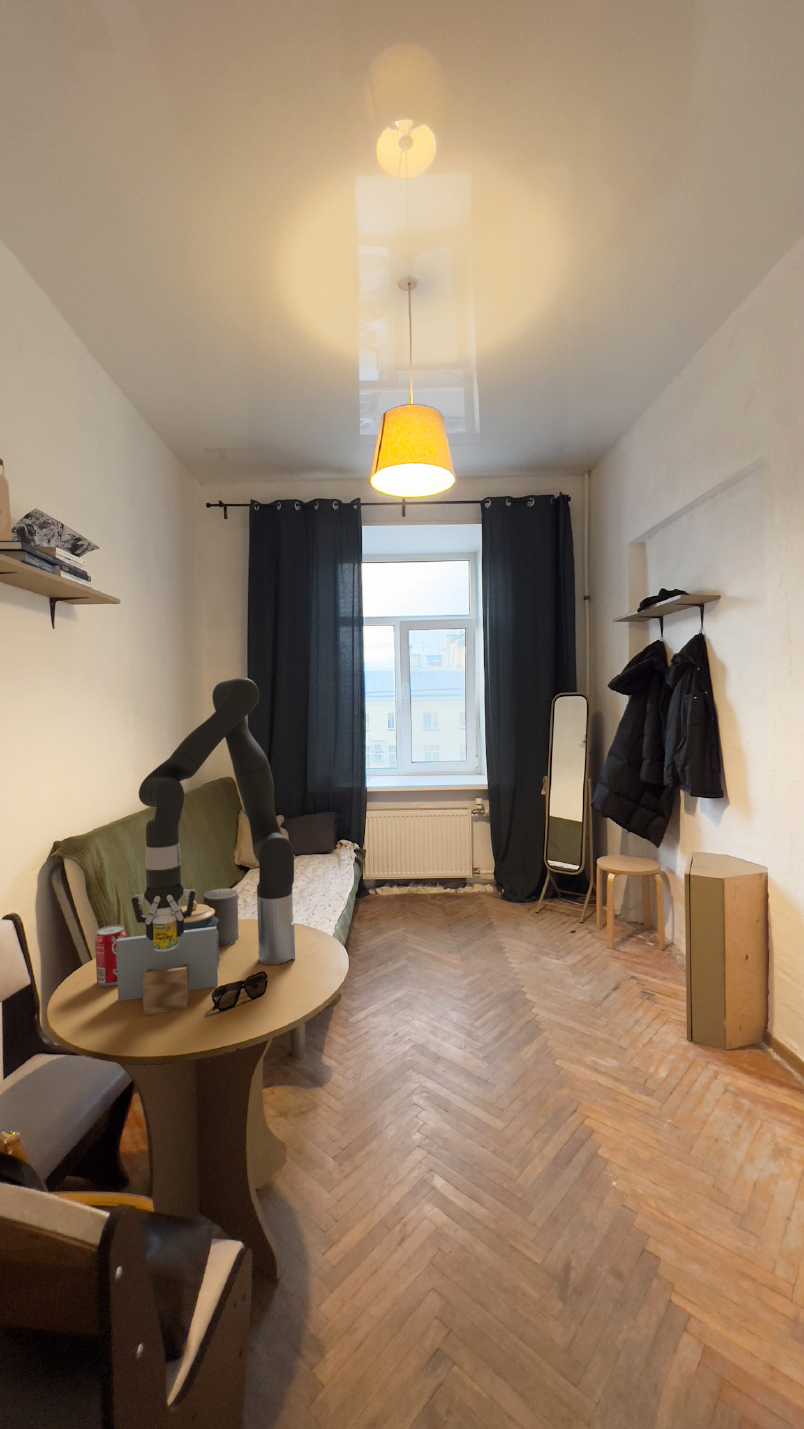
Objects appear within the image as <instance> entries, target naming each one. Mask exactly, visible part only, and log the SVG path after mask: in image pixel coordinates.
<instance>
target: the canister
mask: <svg viewBox="0 0 804 1429" xmlns="http://www.w3.org/2000/svg"><path fill="white" fill-rule="evenodd" d="M187 906H188V902H187V903H186V905H183V906H181V909H182V911H183V912H184V911H186V910H187ZM173 913H174V912H173ZM214 913H215V910H214V909H213V908H210V907H209V906H207V905H204V904H202V903H197V901H196V900H194V904H193V909H192V915H191V916H190V917H187V918H185V919H184V930H192V929H200V928H208V927H216V941H217V968H218V967H219V966H220V959H221V958H220V956H221V954H220V947H219V941H218V935H219V931H218V930H217V923H218V921H219V919H218V918H217V917H216V916H214ZM177 919H178V918H177Z"/></svg>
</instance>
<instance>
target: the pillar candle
mask: <svg viewBox="0 0 804 1429" xmlns="http://www.w3.org/2000/svg"><path fill="white" fill-rule="evenodd" d="M238 894H239V891H237V890H236V889H232V888H216V889H212V890H209V891H206V892H205V893H203V896H202V897H203V899H202V901H203V904H204V905H207V906H209V907H210V908H213V909H214V910H215V913H214V916H216V917H217V918H218V919H219V921H218V923H217V930H218V931H219V935H218V941H219V948H220V947H226V945H227V946H230V945H232V944H231V943H233V942H235V941H236V940H237V941H239V895H238ZM237 941H236V942H237ZM236 942H235V943H236ZM229 944H230V945H229ZM233 944H234V943H233Z"/></svg>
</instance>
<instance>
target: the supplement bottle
mask: <svg viewBox="0 0 804 1429" xmlns="http://www.w3.org/2000/svg"><path fill="white" fill-rule="evenodd" d="M173 912H174V911H173V909H172V907H166V908H157V909H156V911H155V913H154V914H155V915H154V916H153V918H152V922H153V948H154V950H155V951H158V952H166V951H170V950H173V949H175V948H176V947H177V946H178V934H177V920H178V919H177V916H176V914H175V913H173ZM156 914H157V915H156Z"/></svg>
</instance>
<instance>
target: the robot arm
mask: <svg viewBox="0 0 804 1429" xmlns="http://www.w3.org/2000/svg"><path fill="white" fill-rule="evenodd" d="M211 696H212V697H211V698H212V703H213V707H214V711H215V712H214V713H212V715H211V716H210V717H208V718H207V719H206V720H205V721H203V723H201V724H200V725H199V726H197V727H196V728H195V729H194V730H192V731H191V733H189V734H188V735H187V736H186V737H185V738H184V739H183V740H182V741H181V743H180V744H179V745H178V746H177V747H176V749H175V750H174V751H173V752H172V753H171V755H170V756H169V758H168V759H166V760H165V761H164V762H162V763H161V764H160V765H158V766H157V767H156V768H154V770H152V771H151V772H150V773H149V774H148V775H147V776H146V777H145V778H144V779H143V781H142V782H141V783H140V786H139V789H138V798H139V800H140V802H141V804H143V805H144V806H146V807H150V808H155V812H154V813H155V814H154V818H152V819H150V820H149V821H147V823H146V826H145V840H146V841H145V844H146V846H145V857H144V858H145V862H144V865H145V890H144V893H141V894H138V893H135V894H134V895H133V896H132V897H131V904H132V907H133V912H134V916H135V920H136V922H137V923H138V924H139V923H142V924H145V935H146V937H147V938H149V940H153V922H152V921H153V918H154V916H155V914H156V913H155V911H156V909H157V908H166V907H172V909H173V911H174V913H175V914H176V916H177V918H178V920H177V934H178V937H181V934H183V933H184V919H185V918H187V917H190V916H191V915H192V909H193V904H194V901H195V897H196V892H197V891H196V888H194V887H193V888H190V889H186V888H184V887H183V885H182V862H181V861H182V860H181V859H182V858H181V857H182V856H181V854H182V853H181V847H180V830H179V824H180V820H181V816H182V812H183V809H184V802H185V790H184V787H183V785H182V782H181V781H184V780H188V779H192V778H193V777H194V775H195V774H196V773H198V771H199V769H200V768H201V767H202V766H203V764H204V763H205V762H206V760H207V759H208V758H209V756H210V755H211V754H212V752H214V750H215V749H216V748H217V746H218V745H219V744H220V743H221V742H222V741H223V740H224V738H225V742H226V745H227V749H228V753H229V758H230V760H231V764H232V768H233V769H232V770H233V772H234V777H235V780H236V781H235V782H236V785H237V788H238V792H239V795H240V798H241V802H242V805H243V807H244V810H245V813H246V815H247V819H248V824H249V829H250V836H251V843H252V851H253V855H254V858H255V860H256V861H257V862H258V870H259V872H258V877H259V878H258V879H259V881H258V883H257V884H256V900H257V901H256V902H257V903H256V905H257V907H256V908H257V936H258V937H257V938H258V961H259V962H260V961H261V962H260V963H262V964H264V963H265V965H270V964H274V965H279V963H281V964H285V963H287V961H288V962H290V961H292V960H291V959H293V960H295V959H296V942H295V941H296V940H295V939H296V936H295V922H294V908H293V906H294V903H293V901H294V899H293V887H294V886H293V885H294V880H295V853H294V851H295V850H294V848H293V844H292V842H291V841H290V839H288V838H287V837H286V836H284V835H283V833H282V830H281V827H280V826H279V822H278V818H277V815H276V811H275V784H274V779H273V773H272V770H271V766H270V762H269V759H268V756H267V755H266V753H265V751H264V750H263V748H262V747H261V746H260V744H259V743H258V742H257V741H256V740H255V738H254V736H253V735H252V733H251V731H250V729H249V726H248V722H247V719H246V716H248V715H249V714H250V713H251V712H252V711H253V710H254V709H255V708H256V707H257V705H258V704H259V700H260V690H259V687H258V686H257V684H256V683H255V682H254V681H253V680H251V679H250V678H246V677H238V678H232V679H228V680H223V681H220V682H219V683H217V684H216V685H215V686H214V688H213V691H212V695H211ZM183 895H184V896H185V900H187V903H188V906H187V905H186V906H187V910H186V911H184V912H183V911H182V909H181V907H182V906H181V904H180V902H179V900H181V898H182V897H183ZM144 899H145V900H146V901H147V902H148V904H150V905H151V906H150V908H149V911H148V914H147V915H144V913H143V907H142V904H143V902H144ZM289 960H290V961H289Z"/></svg>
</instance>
